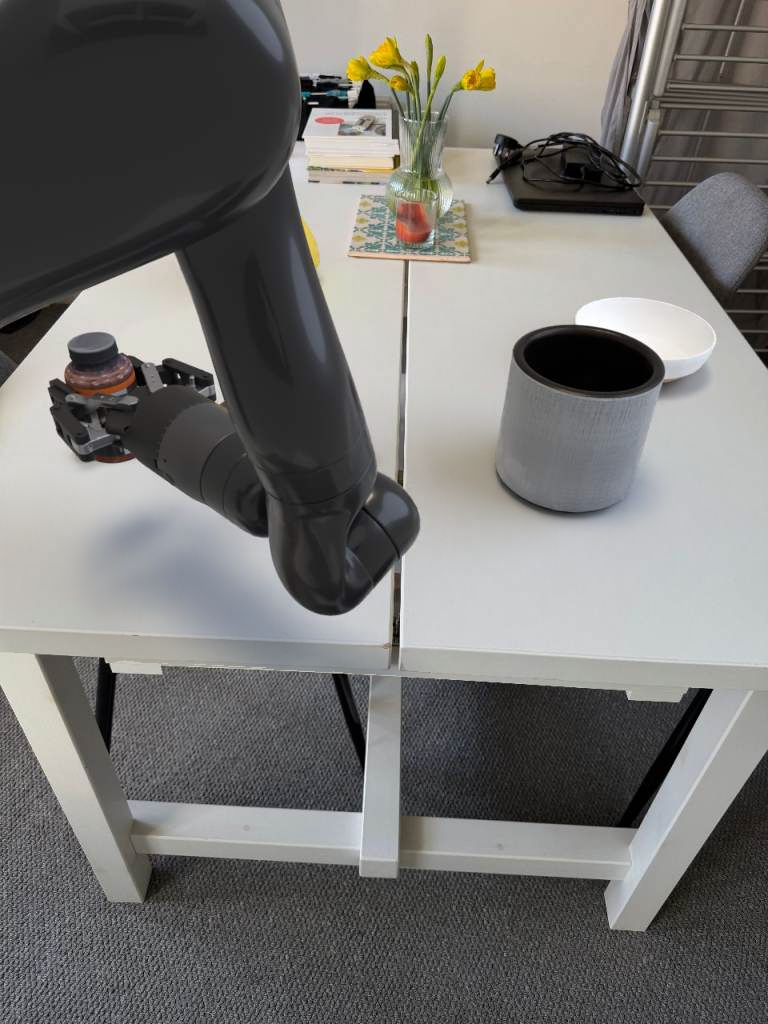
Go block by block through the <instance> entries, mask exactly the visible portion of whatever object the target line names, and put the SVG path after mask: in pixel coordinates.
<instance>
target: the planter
mask: <svg viewBox="0 0 768 1024" xmlns="http://www.w3.org/2000/svg"><path fill="white" fill-rule="evenodd" d="M664 377H665V366H664V363H663V361H662V360H661V358H660V357H659V355H658V354H657V353H656V352H655V351H654V350H652V349H651V348H650V347H648V346H647V345H646V344H644V343H642V342H641V341H639V340H637V339H635V338H633V337H630V336H628V335H626V334H623V333H620V332H617V331H613V330H610V329H606V328H601V327H595V326H588V325H574V324H556V325H555V324H554V325H548V326H544V327H540V328H537V329H533V330H531V331H529V332H527V333H525V334H523V335H522V336H521V337H520V338H518V340H517V341H516V342H515V343H514V345H513V348H512V352H511V358H510V365H509V371H508V377H507V382H506V383H507V384H506V390H505V395H504V401H503V408H502V413H501V418H500V424H499V431H498V436H497V437H498V438H497V442H496V449H495V468H496V471H497V474H498V476H499V477H500V479H501V480H502V482H503V483H504V484H505V485H506V486H507V487H508V488H509V489H510V490H511V491H512V492H514V493H515V494H516V495H518V496H519V497H521V498H523V499H525V500H527V501H528V502H529V503H532V504H535V505H537V506H540V507H543V508H546V509H550V510H554V511H560V512H569V513H586V512H593V511H594V512H595V511H598V510H602V509H605V508H608V507H611V506H613V505H615V504H617V503H619V502H620V501H621V500H623V499H624V498H625V497H626V496H627V494H628V493H629V492H630V490H631V488H632V485H634V481H635V478H636V475H637V471H638V468H639V464H640V462H641V457H642V454H643V452H644V451H643V450H644V447H645V443H646V440H647V437H648V434H649V431H650V430H649V429H650V427H651V423H652V419H653V416H654V413H655V409H656V407H657V403H658V400H659V396H660V393H661V391H662V387H663V383H664V382H663V380H664Z"/></svg>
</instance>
